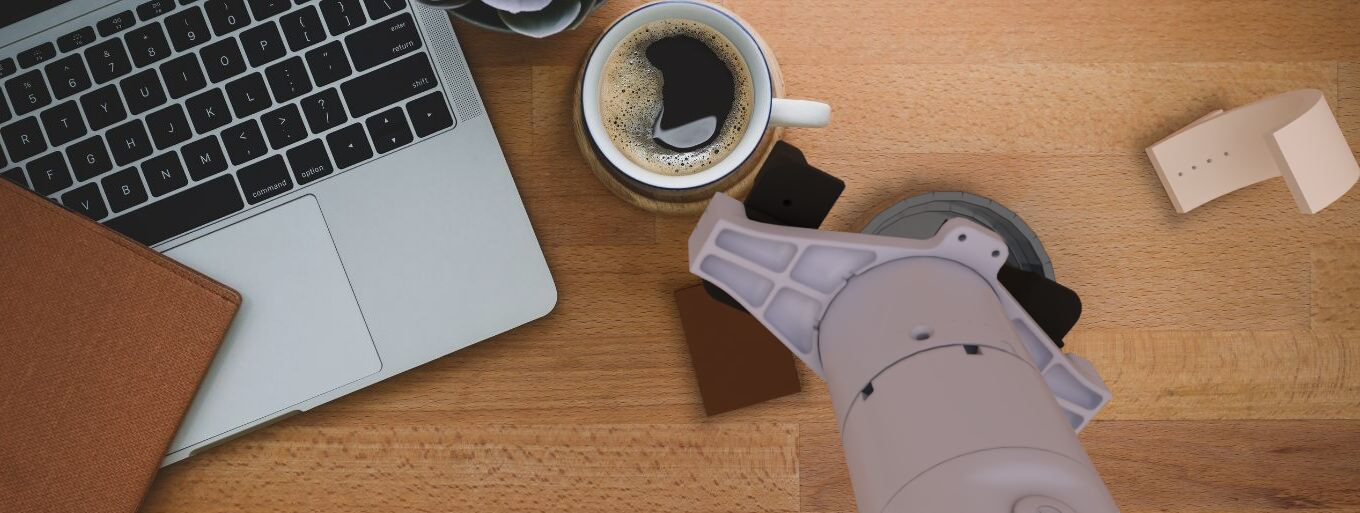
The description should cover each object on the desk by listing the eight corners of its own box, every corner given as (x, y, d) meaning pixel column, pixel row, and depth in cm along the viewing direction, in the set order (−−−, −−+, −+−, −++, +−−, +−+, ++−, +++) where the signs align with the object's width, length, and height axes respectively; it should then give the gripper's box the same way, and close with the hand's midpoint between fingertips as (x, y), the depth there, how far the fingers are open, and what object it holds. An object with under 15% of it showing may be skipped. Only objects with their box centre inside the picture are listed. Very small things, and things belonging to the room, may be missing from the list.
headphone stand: (1143, 148, 59) (1272, 132, 47) (1228, 102, 59) (1378, 74, 47) (1176, 213, 59) (1313, 214, 47) (1260, 167, 59) (1418, 156, 47)
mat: (800, 390, 59) (801, 391, 58) (707, 415, 59) (707, 417, 58) (768, 266, 58) (769, 266, 58) (674, 291, 58) (674, 291, 58)
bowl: (1052, 372, 59) (1081, 384, 55) (849, 427, 59) (864, 443, 55) (1002, 168, 59) (1028, 165, 55) (797, 223, 58) (808, 224, 54)
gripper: (1254, 418, 26) (1068, 195, 37) (790, 203, 22) (746, 33, 34) (1087, 582, 29) (963, 328, 40) (656, 416, 25) (658, 192, 37)
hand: (857, 203), depth 37 cm, fingers open, 7 cm apart
